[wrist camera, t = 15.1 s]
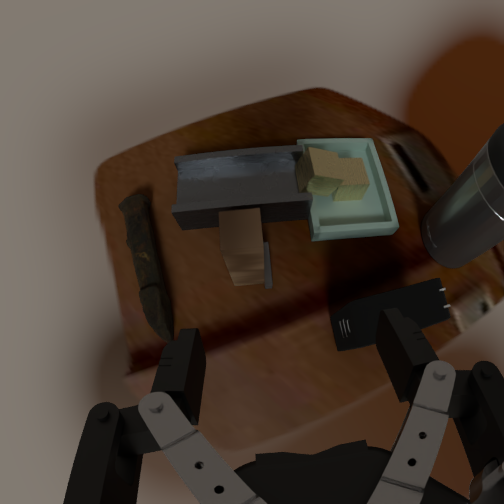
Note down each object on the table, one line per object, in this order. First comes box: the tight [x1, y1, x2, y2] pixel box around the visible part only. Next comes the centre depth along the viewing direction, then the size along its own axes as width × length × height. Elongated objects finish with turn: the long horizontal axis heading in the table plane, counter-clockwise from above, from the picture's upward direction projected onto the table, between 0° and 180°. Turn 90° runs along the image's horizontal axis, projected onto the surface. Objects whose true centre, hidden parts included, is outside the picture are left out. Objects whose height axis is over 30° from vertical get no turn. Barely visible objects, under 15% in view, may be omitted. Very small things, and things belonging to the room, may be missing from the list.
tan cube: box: [331, 158, 370, 202], centre depth 38 cm, size 4×4×4 cm
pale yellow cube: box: [295, 147, 345, 197], centre depth 36 cm, size 4×4×4 cm
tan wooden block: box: [219, 208, 272, 289], centre depth 32 cm, size 4×5×12 cm
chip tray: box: [297, 138, 399, 241], centre depth 39 cm, size 11×14×2 cm
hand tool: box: [119, 194, 173, 343], centre depth 36 cm, size 19×4×5 cm, turn 17°
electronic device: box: [330, 278, 450, 351], centre depth 30 cm, size 4×10×10 cm, turn 100°
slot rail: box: [172, 145, 313, 230], centre depth 38 cm, size 16×8×5 cm, turn 94°
